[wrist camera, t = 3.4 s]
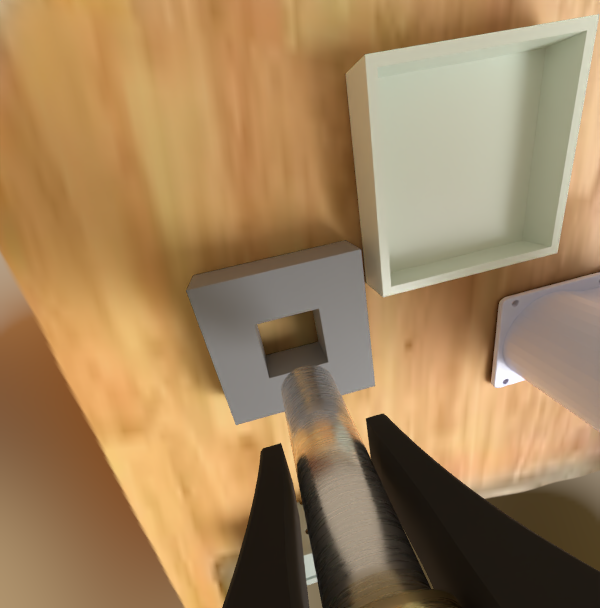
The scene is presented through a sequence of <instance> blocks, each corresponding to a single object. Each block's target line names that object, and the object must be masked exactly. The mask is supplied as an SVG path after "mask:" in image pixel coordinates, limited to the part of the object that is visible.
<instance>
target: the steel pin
mask: <svg viewBox="0 0 600 608" xmlns="http://www.w3.org/2000/svg"><path fill="white" fill-rule="evenodd" d="M281 393H282V399H283V404H284V409H285V414H286V420H287V425H288V430H289V435H290V440H291V446H292V451H293V456H294V461H295V466H296V472H297V477H298V482H299V487H300V492H301V498H302V503H303V508H304V513H305V518H306V524H307V529H308V534H309V539H310V545H311V550H312V555H313V560H314V565H315V571H316V576H317V581H318V586H319V591H320V597H321V601H322V607H323V608H462V607H461V605H460V603H459V601H458V600H457V598H456V597H455V596H453V595H452V594H450V593H448V592H446V591H442V590H436V589H431V588H430V586H429V583H428V581H427V579H426V577H425V575H424V573H423V570H422V568H421V566H420V564H419V562H418V560H417V558H416V555H415V553H414V551H413V549H412V547H411V545H410V542H409V540H408V538H407V536H406V534H405V532H404V530H403V527H402V525H401V523H400V521H399V519H398V517H397V514H396V512H395V510H394V508H393V506H392V504H391V502H390V499H389V497H388V495H387V493H386V491H385V489H384V487H383V484H382V482H381V480H380V478H379V476H378V474H377V472H376V469H375V467H374V465H373V463H372V461H371V459H370V456H369V454H368V452H367V450H366V448H365V446H364V444H363V441H362V439H361V437H360V435H359V433H358V431H357V429H356V426H355V424H354V422H353V420H352V418H351V416H350V413H349V411H348V409H347V407H346V405H345V403H344V401H343V398H342V396H341V394H340V392H339V390H338V388H337V386H336V383H335V381H334V379H333V377H332V375H331V374H330V372H329V371H328V370H326V369H325V368H323V367H321V366H317V365H306V366H302V367H299V368H297V369H295V370H293V371H292V372H291V373H290V374H289V375H288V376H287V377H286V378H285V380H284V381H283V384H282V388H281Z"/></svg>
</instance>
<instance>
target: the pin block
mask: <svg viewBox="0 0 600 608" xmlns="http://www.w3.org/2000/svg"><path fill="white" fill-rule="evenodd" d="M186 292H187V294H188V297H189V300H190V302H191V305H192V308H193V310H194V313H195V316H196V319H197V321H198V324H199V327H200V329H201V332H202V335H203V337H204V340H205V343H206V346H207V348H208V351H209V354H210V356H211V359H212V362H213V364H214V367H215V370H216V372H217V375H218V378H219V381H220V383H221V386H222V389H223V391H224V394H225V397H226V399H227V402H228V405H229V408H230V410H231V413H232V416H233V418H234V421H235V424H236V425H238V424H242V423H245V422H249V421H252V420H256V419H259V418H263V417H267V416H270V415H274V414H277V413H281V412H284V411H285V409H284V404H283V399H282V393H281V388H282V384H283V381H284V380H285V378H286V377H287V376H288V375H289V374H290V373H291V372H292V371H293V370H295V369H297V368H299V367H302V366H306V365H317V366H321V367H323V368H325V369H326V370H328V371H329V372H330V374H331V375H332V377H333V379H334V381H335V383H336V386H337V388H338V390H339V392H340V394H341V395H344V394H348V393H351V392H355V391H359V390H362V389H366V388H369V387H373V386H375V380H374V371H373V361H372V351H371V341H370V331H369V322H368V312H367V302H366V292H365V282H364V273H363V263H362V253H361V249H360V248H358V247H356V246H355V245H353V244H351V243H349V242H348V241H346V240H345V241H340V242H336V243H332V244H327V245H323V246H319V247H314V248H310V249H306V250H301V251H297V252H293V253H288V254H284V255H280V256H275V257H271V258H267V259H262V260H258V261H254V262H250V263H245V264H241V265H237V266H232V267H228V268H224V269H219V270H215V271H211V272H206V273H202V274H198V275H193V277H192V279H191V281H190V283H189V286H188V288H187V290H186ZM311 310H313V315H314V320H315V326H316V331H317V337H318V342H315V343H311V344H307V345H304V346H300V347H296V348H292V349H288V350H285V351H281V352H277V353H273V354H269V355H266V354H265V351H264V347H263V343H262V340H261V336H260V333H259V329H258V325H257V324H259V323H263V322H267V321H271V320H275V319H279V318H283V317H287V316H291V315H295V314H299V313H303V312H307V311H311Z"/></svg>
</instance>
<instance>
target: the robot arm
mask: <svg viewBox="0 0 600 608" xmlns="http://www.w3.org/2000/svg"><path fill="white" fill-rule="evenodd" d="M524 380H526V381H528V382H529V383H531V384H532V385H533V386H535V387H536V388H538V389H539V390H541V391H542V392H543V393H545V394H546V395H548V396H549V397H551V398H552V399H553V400H555V401H556V402H558V403H559V404H560V405H562V406H563V407H565V408H566V409H568V410H569V411H570V412H572V413H573V414H575V415H576V416H578V417H579V418H580V419H582V420H583V421H585V422H586V423H587V424H589V425H590V426H592V427H593V428H595V429H596V430H597V431H599V432H600V272H598V273H594V274H590V275H586V276H583V277H579V278H575V279H571V280H568V281H564V282H560V283H556V284H552V285H549V286H545V287H541V288H537V289H533V290H530V291H526V292H522V293H518V294H515V295H511V296H507V297H504V298H503V299H501V301H500V302H499V308H498V318H497V328H496V338H495V348H494V358H493V368H492V378H491V384H492V385H493V386H494V387H495V388H500V387H503V386H507V385H510V384H513V383H517V382H520V381H524ZM366 422H367V430H368V438H369V446H370V454H371V460H372V463H373V465H374V467H375V469H376V472H377V474H378V476H379V478H380V480H381V482H382V484H383V487H384V489H385V491H386V493H387V495H388V497H389V499H390V502H391V504H392V506H393V508H394V510H395V512H396V514H397V517H398V519H399V521H400V523H401V525H402V527H403V529H404V530H405V532H406V534H407V536H408V538H409V540H410V542H411V544H412V546H413V548H414V550H415V551H416V553H417V555H418V557H419V559H420V561H421V563H422V564H423V567H424V569H425V571H426V573H427V575H428V577H429V579H430V581H431V583H432V586H433V588H434V589H436V590H442V591H446V592H448V593H450V594H452V595H453V596H455V597H456V598H457V600H458V601H459V603H460V605H461V607H462V608H600V571H598V570H596V569H594V568H592V567H591V566H589V565H587V564H585V563H584V562H582V561H580V560H578V559H577V558H575V557H573V556H572V555H570V554H569V553H567V552H565V551H564V550H562V549H560V548H559V547H557V546H555V545H554V544H552V543H550V542H549V541H547V540H545V539H544V538H542V537H540V536H539V535H537V534H535V533H534V532H532V531H531V530H529V529H528V528H526V527H525V526H523V525H522V524H520V523H518V522H517V521H515V520H514V519H512V518H511V517H509V516H508V515H506V514H505V513H504V512H502V511H501V510H499V509H498V508H496V507H495V506H493V505H492V504H490V503H489V502H487V501H486V500H485V499H484V498H482V497H481V496H479V495H478V494H477V493H475V492H474V491H473V490H471V489H470V488H469V487H467V486H466V485H465V484H463V483H462V482H461V481H460V480H458V479H457V478H456V477H454V476H453V475H452V474H451V473H449V472H448V471H447V470H446V469H444V468H443V467H442V466H441V465H440V464H438V463H437V462H436V461H435V460H434V459H433V458H431V457H430V456H429V455H428V454H427V453H425V452H424V451H423V450H422V449H421V448H420V447H419V446H417V445H416V444H415V443H414V442H413V441H412V440H411V439H410V438H409V437H408V436H407V435H405V434H404V433H403V432H402V431H401V430H400V429H399V428H398V427H397V426H396V425H395V424H394V423H393V422H392V421H391V420H390V419H389V418H388V417H387V416H386V415H384V414H380V415H376V416H373V417H369V418H366ZM222 608H309V601H308V592H307V582H306V573H305V564H304V554H303V545H302V535H301V526H300V517H299V512H298V507H297V501H296V496H295V491H294V486H293V482H292V478H291V475H290V472H289V468H288V465H287V461H286V458H285V455H284V451H283V448H282V445H281V443H280V444H277V445H273V446H270V447H266V448H263V449H262V451H261V455H260V465H259V472H258V478H257V484H256V489H255V494H254V499H253V503H252V508H251V512H250V517H249V521H248V525H247V529H246V532H245V536H244V540H243V543H242V547H241V550H240V554H239V558H238V561H237V564H236V567H235V571H234V574H233V577H232V580H231V583H230V586H229V589H228V592H227V595H226V598H225V601H224V604H223V607H222Z"/></svg>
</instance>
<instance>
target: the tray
mask: <svg viewBox="0 0 600 608" xmlns="http://www.w3.org/2000/svg"><path fill="white" fill-rule="evenodd" d="M598 19H599V14H598V15H592V16H586V17H580V18H574V19H569V20H563V21H557V22H551V23H545V24H539V25H534V26H528V27H522V28H516V29H510V30H504V31H499V32H493V33H487V34H481V35H475V36H469V37H463V38H458V39H452V40H446V41H440V42H434V43H428V44H423V45H417V46H411V47H405V48H399V49H393V50H388V51H382V52H376V53H370V54H365V55H364V56H363V57H362V58H361V59H360V60H359V61H358V62H357V63H356V64H355V65H354V66H353V67H352V68H351V69H350V70H349V71H348V72H347V73H346V74H345V75H346V85H347V95H348V105H349V115H350V125H351V135H352V145H353V155H354V165H355V175H356V186H357V196H358V206H359V216H360V226H361V236H362V246H363V256H364V266H365V276H366V283H367V284H368V285H369V286H370V287H372V288H373V289H374V290H375V291H376V292H378V293H379V294H380V295H381V296H382V297H386V296H390V295H394V294H398V293H402V292H406V291H410V290H414V289H418V288H422V287H426V286H430V285H434V284H437V283H441V282H445V281H449V280H453V279H457V278H461V277H465V276H469V275H473V274H477V273H481V272H485V271H489V270H493V269H497V268H501V267H505V266H508V265H512V264H516V263H520V262H524V261H528V260H532V259H536V258H540V257H544V256H548V255H552V254H556V253H557V252H558V247H559V241H560V235H561V230H562V224H563V218H564V213H565V207H566V201H567V196H568V190H569V184H570V179H571V173H572V167H573V161H574V156H575V150H576V144H577V139H578V133H579V127H580V122H581V116H582V110H583V105H584V99H585V93H586V88H587V82H588V76H589V71H590V65H591V59H592V54H593V48H594V42H595V37H596V31H597V25H598Z"/></svg>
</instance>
